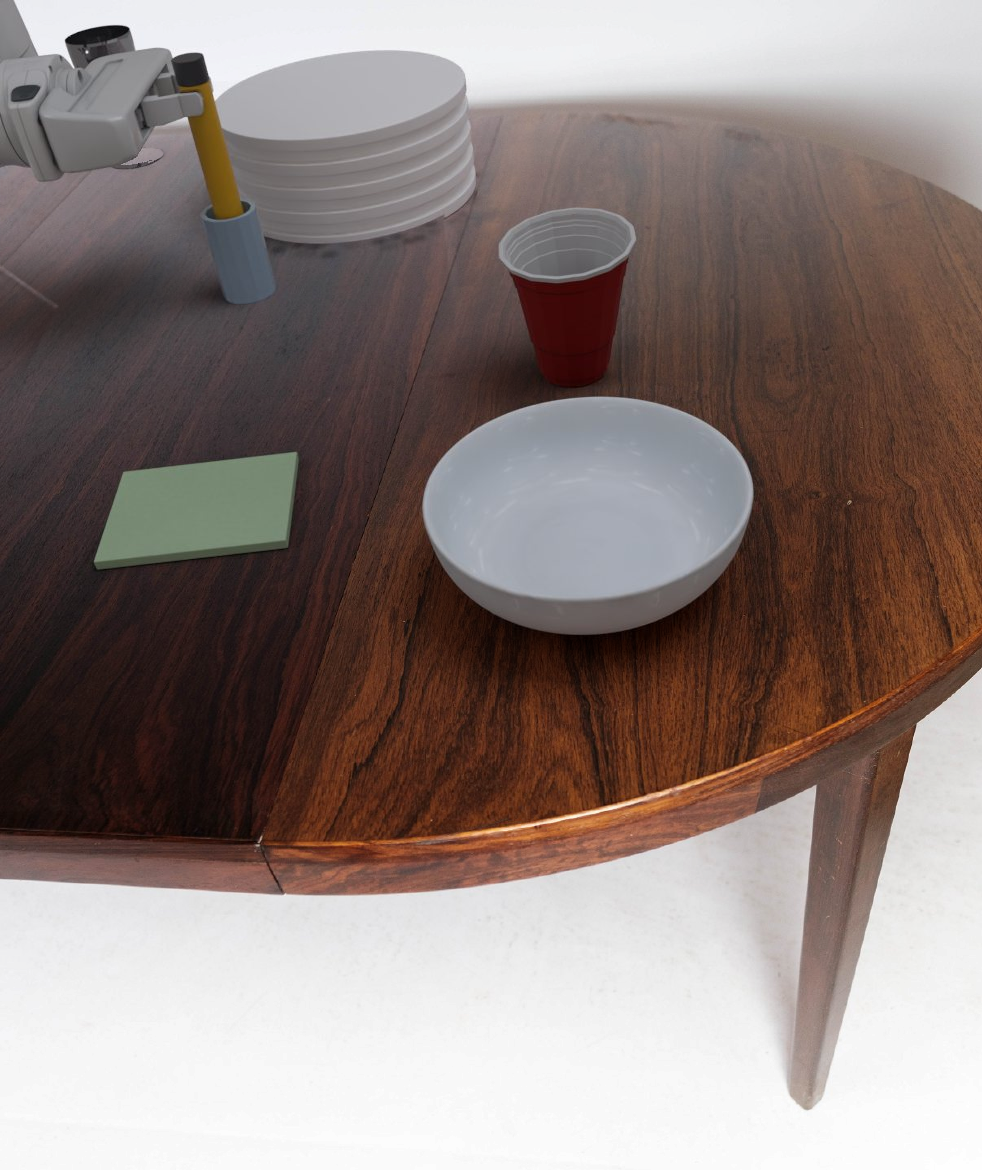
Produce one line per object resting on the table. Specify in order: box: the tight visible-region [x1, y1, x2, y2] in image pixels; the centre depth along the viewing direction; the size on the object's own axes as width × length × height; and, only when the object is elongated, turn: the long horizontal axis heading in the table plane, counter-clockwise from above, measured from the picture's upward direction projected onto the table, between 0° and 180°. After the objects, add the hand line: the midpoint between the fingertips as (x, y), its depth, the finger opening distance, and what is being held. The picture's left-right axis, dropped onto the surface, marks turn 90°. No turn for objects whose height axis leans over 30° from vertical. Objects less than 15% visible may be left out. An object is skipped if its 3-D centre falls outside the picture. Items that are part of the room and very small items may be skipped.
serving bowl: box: [421, 396, 754, 636], centre depth 69 cm, size 21×21×7 cm
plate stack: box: [215, 49, 477, 244], centre depth 119 cm, size 28×28×12 cm
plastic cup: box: [498, 207, 637, 388], centre depth 86 cm, size 11×11×12 cm
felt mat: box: [93, 451, 300, 571], centre depth 80 cm, size 14×11×1 cm
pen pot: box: [199, 199, 277, 305], centre depth 103 cm, size 5×5×9 cm
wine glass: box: [64, 24, 157, 170], centre depth 134 cm, size 8×8×15 cm
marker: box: [171, 52, 244, 220], centre depth 96 cm, size 3×3×16 cm
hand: (206, 94), depth 93 cm, fingers closed on marker, 3 cm apart
